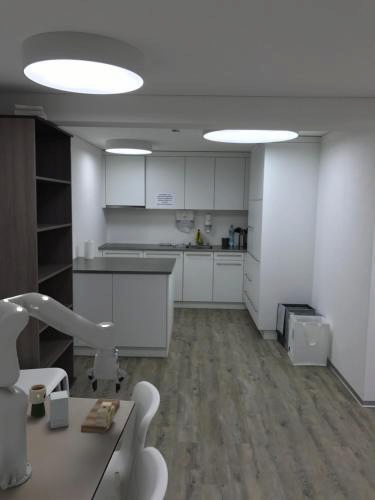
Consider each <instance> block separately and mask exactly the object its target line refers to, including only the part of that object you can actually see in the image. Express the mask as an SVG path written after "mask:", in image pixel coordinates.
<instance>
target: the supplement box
mask: <svg viewBox="0 0 375 500" xmlns="http://www.w3.org/2000/svg"><path fill="white" fill-rule="evenodd" d="M49 424H50V429H55V428H62V427H66V426H67V427H68V426H69V395H68V390H60V391H53V392H49Z"/></svg>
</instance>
